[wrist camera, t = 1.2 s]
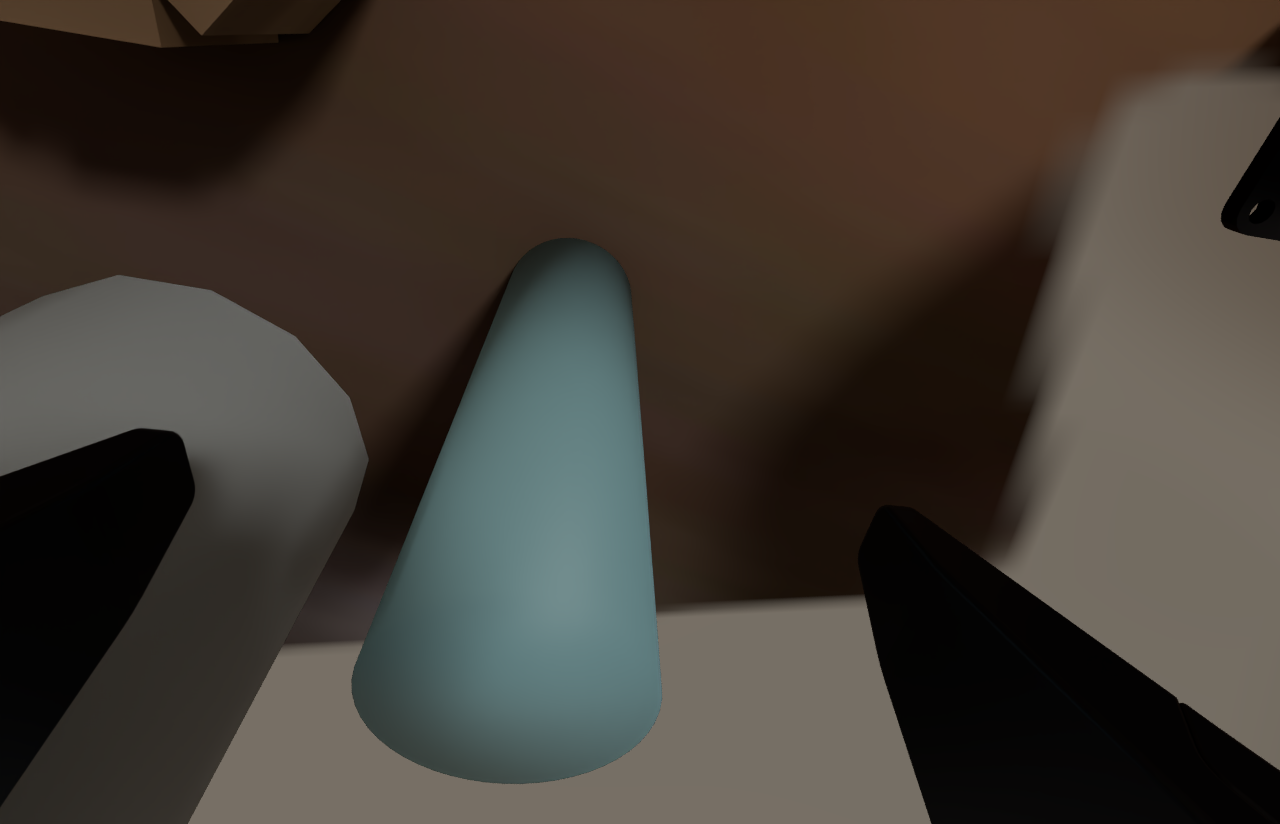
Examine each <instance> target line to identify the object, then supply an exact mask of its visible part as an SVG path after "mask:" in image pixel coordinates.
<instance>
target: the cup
mask: <svg viewBox="0 0 1280 824" xmlns="http://www.w3.org/2000/svg"><path fill="white" fill-rule="evenodd" d="M136 428H150V429H160V430H169V431H174V432H176V433H178V434H179V435H180V436H181V438H182V439H183V442H184V445H185V448H186V452H187V456H188V459H189V463H190V467H191V471H192V474H193V478H194V482H195V496H194V500H193V503H192V505H191V507H190V509H189V511H188V513H187V514H186V516H185V518H184V520H183V522H182V524H181V526H180V528H179V529H178V531H177V533H176V535H175V537H174V539H173V541H172V542H171V544H170V546H169V548H168V550H167V552H166V554H165V555H164V557H163V559H162V561H161V563H160V565H159V567H158V569H157V570H156V572H155V574H154V576H153V578H152V580H151V582H150V583H149V585H148V587H147V589H146V591H145V593H144V595H143V596H142V598H141V600H140V601H139V603H138V605H137V607H136V608H135V610H134V612H133V613H132V615H131V616H130V618H129V620H128V621H127V623H126V624H125V626H124V627H123V629H122V630H121V632H120V633H119V635H118V636H117V638H116V639H115V641H114V642H113V644H112V645H111V647H110V648H109V649H108V651H107V652H106V654H105V655H104V657H103V658H102V660H101V661H100V663H99V664H98V666H97V667H96V668H95V670H94V671H93V673H92V674H91V676H90V677H89V679H88V680H87V682H86V683H85V685H84V686H83V687H82V689H81V690H80V692H79V693H78V695H77V696H76V698H75V699H74V701H73V702H72V704H71V705H70V706H69V708H68V709H67V711H66V712H65V714H64V715H63V717H62V718H61V720H60V721H59V723H58V724H57V725H56V727H55V728H54V730H53V731H52V733H51V734H50V736H49V737H48V739H47V740H46V742H45V743H44V744H43V746H42V747H41V749H40V750H39V752H38V753H37V755H36V756H35V758H34V759H33V761H32V762H31V763H30V765H29V766H28V768H27V769H26V771H25V772H24V774H23V775H22V777H21V778H20V780H19V781H18V782H17V784H16V785H15V787H14V788H13V790H12V791H11V793H10V794H9V796H8V797H7V799H6V800H5V801H4V803H3V804H2V806H1V807H0V824H188V822H189V820H190V818H191V816H192V814H193V813H194V811H195V809H196V807H197V805H198V803H199V801H200V799H201V798H202V796H203V794H204V792H205V790H206V788H207V786H208V785H209V783H210V781H211V779H212V777H213V775H214V773H215V771H216V769H217V768H218V766H219V764H220V762H221V760H222V758H223V756H224V754H225V753H226V751H227V749H228V747H229V745H230V743H231V741H232V739H233V738H234V735H235V734H236V732H237V730H238V728H239V726H240V724H241V722H242V721H243V719H244V717H245V715H246V713H247V711H248V709H249V707H250V706H251V704H252V702H253V700H254V698H255V696H256V694H257V692H258V690H259V689H260V687H261V685H262V683H263V681H264V679H265V677H266V675H267V673H268V671H269V670H270V668H271V666H272V664H273V662H274V660H275V659H276V657H277V655H278V653H279V651H280V649H281V647H282V645H283V643H284V642H285V640H286V638H287V636H288V634H289V632H290V630H291V628H292V627H293V625H294V623H295V621H296V619H297V617H298V615H299V613H300V612H301V610H302V608H303V606H304V604H305V602H306V600H307V598H308V596H309V595H310V593H311V591H312V589H313V587H314V585H315V583H316V581H317V580H318V578H319V576H320V574H321V572H322V570H323V568H324V566H325V565H326V563H327V561H328V559H329V557H330V555H331V553H332V551H333V549H334V548H335V546H336V544H337V542H338V540H339V538H340V536H341V534H342V533H343V531H344V529H345V527H346V525H347V523H348V521H349V519H350V518H351V516H352V514H353V512H354V510H355V506H356V503H357V499H358V496H359V492H360V489H361V485H362V482H363V478H364V474H365V471H366V467H367V464H368V460H369V459H368V455H367V452H366V449H365V446H364V442H363V439H362V436H361V433H360V429H359V426H358V423H357V420H356V417H355V413H354V410H353V407H352V404H351V400H350V398H349V396H348V395H347V394H346V393H345V392H344V391H343V390H342V389H341V387H340V386H339V385H338V384H337V383H336V382H335V381H334V380H333V378H332V377H331V376H330V375H329V374H328V373H327V372H326V371H325V369H324V368H323V367H322V366H321V365H320V364H319V363H318V362H317V361H316V359H315V358H314V357H313V356H312V355H311V354H310V353H309V352H308V350H307V349H306V348H305V347H304V346H303V345H302V344H301V343H300V341H299V340H298V339H297V338H296V337H295V336H293V335H292V334H290V333H288V332H286V331H284V330H283V329H281V328H279V327H277V326H275V325H273V324H272V323H270V322H268V321H266V320H264V319H263V318H261V317H259V316H257V315H255V314H253V313H252V312H250V311H248V310H246V309H244V308H242V307H241V306H239V305H237V304H235V303H233V302H232V301H230V300H228V299H226V298H224V297H222V296H221V295H219V294H217V293H215V292H213V291H212V290H206V289H200V288H194V287H188V286H182V285H176V284H170V283H164V282H158V281H151V280H145V279H139V278H133V277H127V276H121V275H117V276H114V277H110V278H106V279H103V280H99V281H96V282H92V283H89V284H85V285H81V286H78V287H74V288H71V289H67V290H64V291H60V292H56V293H53V294H49V295H46V296H42V297H40V298H38V299H36V300H34V301H32V302H30V303H28V304H26V305H23V306H21V307H19V308H17V309H15V310H13V311H11V312H9V313H7V314H4V315H2V316H0V476H2V475H5V474H8V473H11V472H14V471H16V470H19V469H22V468H25V467H28V466H31V465H33V464H36V463H39V462H42V461H45V460H48V459H50V458H53V457H56V456H59V455H62V454H65V453H67V452H70V451H73V450H76V449H79V448H82V447H84V446H87V445H90V444H93V443H96V442H98V441H101V440H104V439H107V438H110V437H113V436H115V435H118V434H121V433H124V432H127V431H130V430H132V429H136Z"/></svg>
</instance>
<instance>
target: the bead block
mask: <svg viewBox="0 0 1280 824" xmlns="http://www.w3.org/2000/svg"><path fill="white" fill-rule="evenodd" d="M340 1H341V0H0V21H6V22H12V23H18V24H24V25H29V26H35V27H41V28H47V29H53V30H59V31H65V32H71V33H77V34H83V35H89V36H95V37H101V38H107V39H113V40H119V41H125V42H131V43H137V44H143V45H149V46H155V47H161V48H165V47H187V46H210V45H233V44H256V43H279V40H278V34H309V33H310V32H311V31H312V30H313V29H314V28H315V27H316V26H317V25H318V24H319V23H320V22H321V20H322V19H323V18H324V17H325V16H326V15H327V14H328V13H329V12H330V11H331V10H332V9H333V8H334V7H335V6H336V5H337V4H338V3H339V2H340Z"/></svg>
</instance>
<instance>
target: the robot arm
mask: <svg viewBox="0 0 1280 824" xmlns="http://www.w3.org/2000/svg"><path fill="white" fill-rule="evenodd" d="M1256 204H1258V206H1257V208H1256V210H1255V211H1254V212H1253V213H1252V214H1251V215H1249V214H1250V212H1251V210H1252V209H1253V208H1254V206H1255V205H1256ZM1221 222H1222V224H1223V225H1224V227H1225V228H1227V229H1230V230H1232V231H1235V232H1238V233H1241V234H1245V235H1248V236H1254V237H1260V238H1266V239H1273V240H1278V241H1280V118H1279V119H1278V121H1277V122H1276V124H1275V126H1274V127H1273V129H1272V131H1271V132H1270V134H1269V135H1268V137H1267V139H1266V140H1265V142H1264V143H1263V145H1262V146H1261V148H1260V150H1259V151H1258V153H1257V154H1256V156H1255V157H1254V159H1253V161H1252V162H1251V164H1250V166H1249V167H1248V169H1247V170H1246V172H1245V173H1244V175H1243V177H1242V178H1241V180H1240V181H1239V183H1238V185H1237V186H1236V188H1235V190H1234V191H1233V192H1232V194H1231V196H1230V197H1229V199H1228V200H1227V202H1226V204H1225V206H1224V208H1223V211H1222V213H1221ZM194 496H195V482H194V478H193V474H192V471H191V467H190V463H189V459H188V456H187V452H186V448H185V445H184V442H183V439H182V438H181V436H180V435H179V434H178V433H176V432H174V431H169V430H160V429H150V428H136V429H132V430H130V431H127V432H124V433H121V434H118V435H115V436H113V437H110V438H107V439H104V440H101V441H98V442H96V443H93V444H90V445H87V446H84V447H82V448H79V449H76V450H73V451H70V452H67V453H65V454H62V455H59V456H56V457H53V458H50V459H48V460H45V461H42V462H39V463H36V464H33V465H31V466H28V467H25V468H22V469H19V470H16V471H14V472H11V473H8V474H5V475H2V476H0V807H1V806H2V804H3V803H4V801H5V800H6V799H7V797H8V796H9V794H10V793H11V791H12V790H13V788H14V787H15V785H16V784H17V782H18V781H19V780H20V778H21V777H22V775H23V774H24V772H25V771H26V769H27V768H28V766H29V765H30V763H31V762H32V761H33V759H34V758H35V756H36V755H37V753H38V752H39V750H40V749H41V747H42V746H43V744H44V743H45V742H46V740H47V739H48V737H49V736H50V734H51V733H52V731H53V730H54V728H55V727H56V725H57V724H58V723H59V721H60V720H61V718H62V717H63V715H64V714H65V712H66V711H67V709H68V708H69V706H70V705H71V704H72V702H73V701H74V699H75V698H76V696H77V695H78V693H79V692H80V690H81V689H82V687H83V686H84V685H85V683H86V682H87V680H88V679H89V677H90V676H91V674H92V673H93V671H94V670H95V668H96V667H97V666H98V664H99V663H100V661H101V660H102V658H103V657H104V655H105V654H106V652H107V651H108V649H109V648H110V647H111V645H112V644H113V642H114V641H115V639H116V638H117V636H118V635H119V633H120V632H121V630H122V629H123V627H124V626H125V624H126V623H127V621H128V620H129V618H130V616H131V615H132V613H133V612H134V610H135V608H136V607H137V605H138V603H139V601H140V600H141V598H142V596H143V595H144V593H145V591H146V589H147V587H148V585H149V583H150V582H151V580H152V578H153V576H154V574H155V572H156V570H157V569H158V567H159V565H160V563H161V561H162V559H163V557H164V555H165V554H166V552H167V550H168V548H169V546H170V544H171V542H172V541H173V539H174V537H175V535H176V533H177V531H178V529H179V528H180V526H181V524H182V522H183V520H184V518H185V516H186V514H187V513H188V511H189V509H190V507H191V505H192V503H193V500H194ZM858 565H859V570H860V575H861V580H862V584H863V589H864V594H865V599H866V603H867V608H868V612H869V617H870V622H871V627H872V632H873V636H874V641H875V645H876V650H877V654H878V658H879V662H880V666H881V670H882V673H883V676H884V680H885V683H886V686H887V689H888V692H889V695H890V698H891V701H892V705H893V708H894V711H895V714H896V716H897V720H898V723H899V726H900V729H901V732H902V735H903V738H904V741H905V744H906V747H907V750H908V753H909V757H910V760H911V763H912V766H913V769H914V772H915V775H916V778H917V781H918V784H919V787H920V790H921V793H922V796H923V799H924V802H925V805H926V809H927V811H928V815H929V818H930V821H931V824H1280V770H1278V769H1277V768H1275V767H1274V766H1273V765H1271V764H1270V763H1268V762H1267V761H1265V760H1264V759H1263V758H1261V757H1260V756H1258V755H1257V754H1255V753H1254V752H1252V751H1251V750H1250V749H1248V748H1247V747H1245V746H1244V745H1242V744H1241V743H1240V742H1238V741H1237V740H1235V739H1234V738H1232V737H1231V736H1230V735H1228V734H1227V733H1225V732H1224V731H1223V730H1221V729H1220V728H1218V727H1217V726H1216V725H1214V724H1213V723H1211V722H1210V721H1209V720H1207V719H1206V718H1205V717H1203V716H1202V715H1200V714H1199V713H1198V712H1196V711H1195V710H1193V709H1192V708H1191V707H1189V706H1188V705H1186V704H1184V703H1179V702H1178V699H1177V698H1176V697H1175V696H1174V695H1172V694H1171V693H1170V692H1168V691H1167V690H1165V689H1164V688H1163V687H1161V686H1160V685H1158V684H1157V683H1156V682H1154V681H1153V680H1151V679H1150V678H1149V677H1147V676H1146V675H1145V674H1143V673H1142V672H1140V671H1139V670H1137V669H1136V668H1135V667H1133V666H1132V665H1130V664H1129V663H1128V662H1126V661H1125V660H1124V659H1122V658H1121V657H1119V656H1118V655H1117V654H1115V653H1114V652H1112V651H1111V650H1110V649H1108V648H1107V647H1105V646H1104V645H1103V644H1101V643H1100V642H1099V641H1097V640H1096V639H1094V638H1093V637H1091V636H1090V635H1089V634H1087V633H1086V632H1085V631H1083V630H1082V629H1080V628H1079V627H1077V626H1076V625H1075V624H1073V623H1072V622H1071V621H1069V620H1068V619H1066V618H1065V617H1063V616H1062V615H1061V614H1060V613H1058V612H1057V611H1055V610H1054V609H1052V608H1051V607H1050V606H1048V605H1047V604H1046V603H1044V602H1043V601H1041V600H1040V599H1039V598H1037V597H1036V596H1034V595H1033V594H1031V593H1030V592H1029V591H1027V590H1026V589H1025V588H1023V587H1022V586H1021V585H1019V584H1018V583H1016V582H1015V581H1014V580H1012V579H1011V578H1009V577H1008V576H1007V575H1005V574H1004V573H1002V572H1001V571H1000V570H998V569H997V568H996V567H994V566H993V565H991V564H990V563H989V562H987V561H986V560H984V559H983V558H982V557H980V556H979V555H977V554H976V553H975V552H973V551H972V550H970V549H969V548H968V547H966V546H965V545H963V544H962V543H961V542H959V541H958V540H957V539H955V538H954V537H952V536H951V535H950V534H948V533H947V532H945V531H944V530H943V529H941V528H940V527H938V526H937V525H936V524H934V523H933V522H931V521H930V520H929V519H927V518H926V517H925V516H923V515H922V514H920V513H919V512H918V511H916V510H915V509H913V508H910V507H902V506H892V505H885V506H882V507H880V508H879V509H878V510H877V512H876V514H875V516H874V518H873V520H872V522H871V524H870V527H869V529H868V531H867V533H866V535H865V537H864V540H863V542H862V544H861V546H860V549H859V553H858Z"/></svg>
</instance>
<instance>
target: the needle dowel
mask: <svg viewBox="0 0 1280 824" xmlns="http://www.w3.org/2000/svg"><path fill="white" fill-rule="evenodd" d="M352 695H353V699H354V703H355V706H356V708H357V710H358V713H359V715H360V717H361V718H362V720H363V721H364V723H365V724H366V726H367V727H368V728H369V729H370V730H371V732H372V733H373V734H374V735H375V736H376V737H377V738H378V739H379V740H381V741H382V742H383V743H384V744H386V745H387V746H388V747H389V748H390V749H392V750H394V751H395V752H397V753H398V754H400V755H401V756H403V757H405V758H407V759H409V760H411V761H413V762H415V763H417V764H419V765H421V766H424V767H426V768H429V769H431V770H434V771H437V772H440V773H443V774H447V775H450V776H455V777H459V778H463V779H468V780H474V781H481V782H490V783H502V784H525V783H540V782H548V781H555V780H560V779H565V778H569V777H574V776H577V775H581V774H584V773H587V772H590V771H593V770H595V769H598V768H600V767H603V766H605V765H607V764H608V763H611V762H613V761H615V760H616V759H618V758H620V757H621V756H623V755H624V754H626V753H627V752H629V751H630V750H631V749H632V748H634V747H635V746H636V745H637V744H638V743H639V742H641V740H642V739H643V738H644V737H645V736H646V735H647V733H648V732H649V731H650V729H651V728H652V726H653V725H654V723H655V721H656V719H657V716H658V714H659V711H660V707H661V701H662V686H661V672H660V659H659V647H658V634H657V621H656V608H655V595H654V582H653V569H652V556H651V543H650V530H649V517H648V504H647V491H646V478H645V466H644V453H643V440H642V427H641V414H640V401H639V388H638V375H637V362H636V349H635V336H634V323H633V311H632V298H631V289H630V284H629V281H628V278H627V276H626V274H625V272H624V270H623V268H622V267H621V265H620V264H619V263H618V261H617V260H616V259H615V258H614V257H613V256H612V255H611V254H610V253H608V252H607V251H606V250H604V249H603V248H601V247H599V246H597V245H595V244H593V243H591V242H588V241H585V240H580V239H574V238H560V239H554V240H550V241H547V242H544V243H542V244H540V245H537V246H536V247H534V248H533V249H531V250H530V251H528V252H527V253H526V254H525V255H524V256H523V257H522V258H521V260H520V261H519V262H518V263H517V265H516V267H515V268H514V270H513V273H512V275H511V278H510V280H509V283H508V285H507V288H506V290H505V293H504V295H503V297H502V300H501V302H500V305H499V307H498V310H497V312H496V315H495V317H494V320H493V322H492V325H491V327H490V330H489V332H488V335H487V337H486V340H485V342H484V345H483V347H482V350H481V352H480V355H479V357H478V360H477V362H476V365H475V367H474V370H473V372H472V375H471V377H470V380H469V382H468V385H467V387H466V390H465V392H464V395H463V397H462V400H461V402H460V405H459V407H458V410H457V412H456V415H455V417H454V420H453V422H452V425H451V427H450V430H449V432H448V435H447V437H446V440H445V442H444V445H443V447H442V450H441V452H440V455H439V457H438V459H437V462H436V464H435V467H434V469H433V472H432V474H431V477H430V479H429V482H428V484H427V487H426V489H425V492H424V494H423V497H422V499H421V502H420V504H419V507H418V509H417V512H416V514H415V517H414V519H413V522H412V524H411V527H410V529H409V532H408V534H407V537H406V539H405V542H404V544H403V547H402V549H401V552H400V554H399V557H398V559H397V562H396V564H395V567H394V569H393V572H392V574H391V577H390V579H389V582H388V584H387V587H386V589H385V592H384V594H383V597H382V599H381V602H380V604H379V607H378V609H377V612H376V614H375V617H374V619H373V622H372V624H371V626H370V629H369V631H368V634H367V636H366V639H365V641H364V644H363V646H362V649H361V651H360V654H359V656H358V660H357V662H356V664H355V667H354V671H353V675H352Z"/></svg>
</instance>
